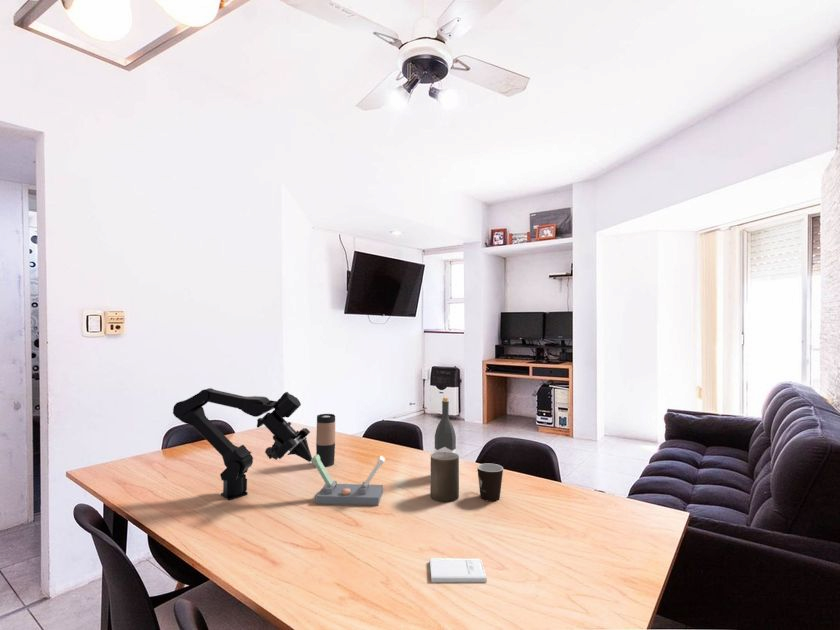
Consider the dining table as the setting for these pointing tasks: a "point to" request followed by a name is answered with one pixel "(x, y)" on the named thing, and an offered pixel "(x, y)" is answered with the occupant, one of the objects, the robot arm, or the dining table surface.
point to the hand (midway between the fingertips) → (311, 460)
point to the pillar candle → (444, 476)
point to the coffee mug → (490, 481)
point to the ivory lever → (373, 472)
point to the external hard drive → (457, 570)
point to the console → (350, 495)
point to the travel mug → (326, 438)
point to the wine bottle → (445, 431)
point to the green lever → (323, 471)
